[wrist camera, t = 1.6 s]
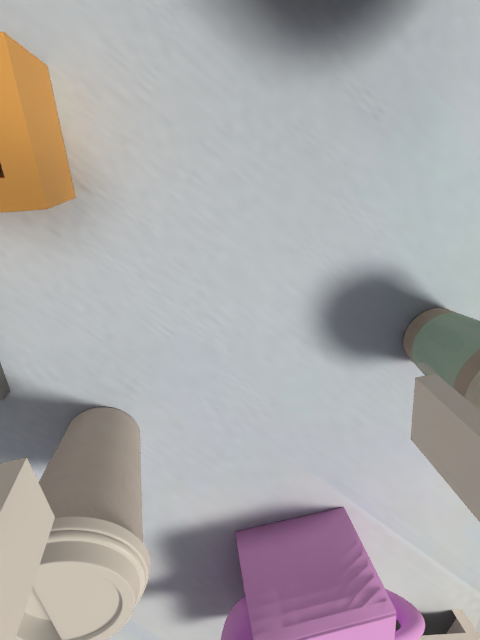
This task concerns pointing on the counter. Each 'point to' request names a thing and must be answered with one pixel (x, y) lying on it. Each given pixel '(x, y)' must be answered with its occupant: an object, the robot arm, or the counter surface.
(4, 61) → the hollow block
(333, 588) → the teapot
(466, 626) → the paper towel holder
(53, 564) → the coffee cup
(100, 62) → the counter surface
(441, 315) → the coffee cup
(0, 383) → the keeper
